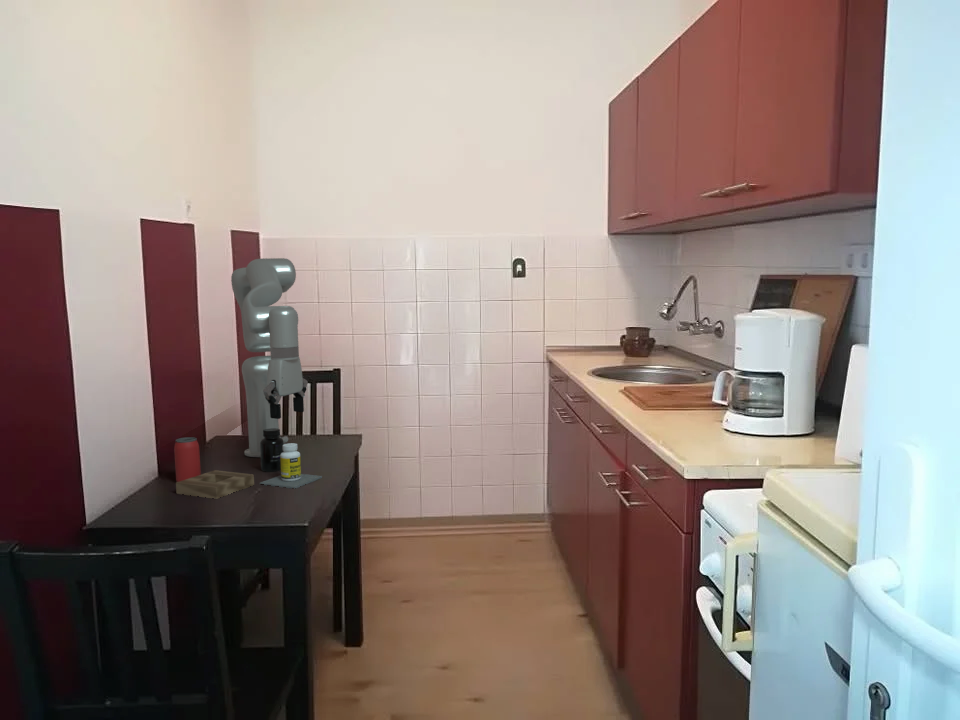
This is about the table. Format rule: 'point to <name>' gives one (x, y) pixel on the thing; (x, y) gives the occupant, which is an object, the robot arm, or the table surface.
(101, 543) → the table surface
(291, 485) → the mat
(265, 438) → the supplement bottle
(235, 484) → the holder
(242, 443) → the table surface
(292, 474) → the supplement bottle
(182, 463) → the beer can
